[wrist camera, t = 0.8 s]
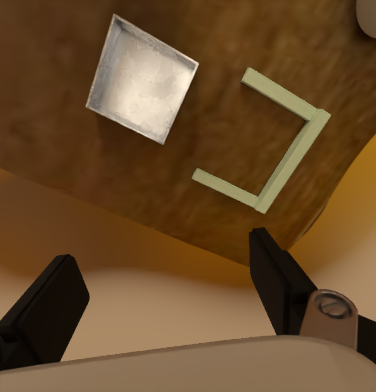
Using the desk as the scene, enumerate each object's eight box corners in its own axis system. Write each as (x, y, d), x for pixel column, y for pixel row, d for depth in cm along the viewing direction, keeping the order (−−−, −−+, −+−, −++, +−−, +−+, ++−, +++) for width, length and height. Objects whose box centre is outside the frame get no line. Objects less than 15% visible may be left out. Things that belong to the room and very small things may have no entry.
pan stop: (247, 68, 32) (251, 65, 30) (323, 115, 35) (331, 115, 33) (191, 177, 37) (192, 180, 36) (260, 209, 40) (264, 214, 38)
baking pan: (120, 24, 29) (113, 12, 26) (197, 68, 31) (199, 63, 28) (94, 107, 33) (85, 106, 30) (164, 142, 35) (163, 144, 32)
